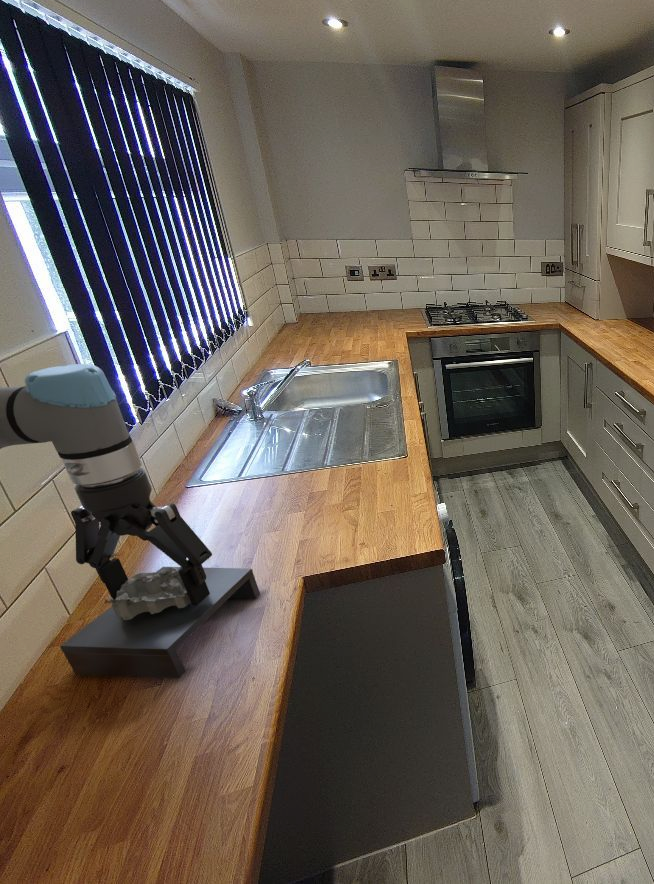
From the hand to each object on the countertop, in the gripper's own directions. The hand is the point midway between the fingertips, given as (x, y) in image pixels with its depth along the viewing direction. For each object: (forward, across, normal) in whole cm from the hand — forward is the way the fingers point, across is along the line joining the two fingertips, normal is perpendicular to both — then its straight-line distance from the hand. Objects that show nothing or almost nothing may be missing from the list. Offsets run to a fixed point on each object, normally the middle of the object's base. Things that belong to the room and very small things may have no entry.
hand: (162, 598), depth 82 cm
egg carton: (0, 0, 0) cm, 0 cm away
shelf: (+6, 0, 0) cm, 6 cm away
